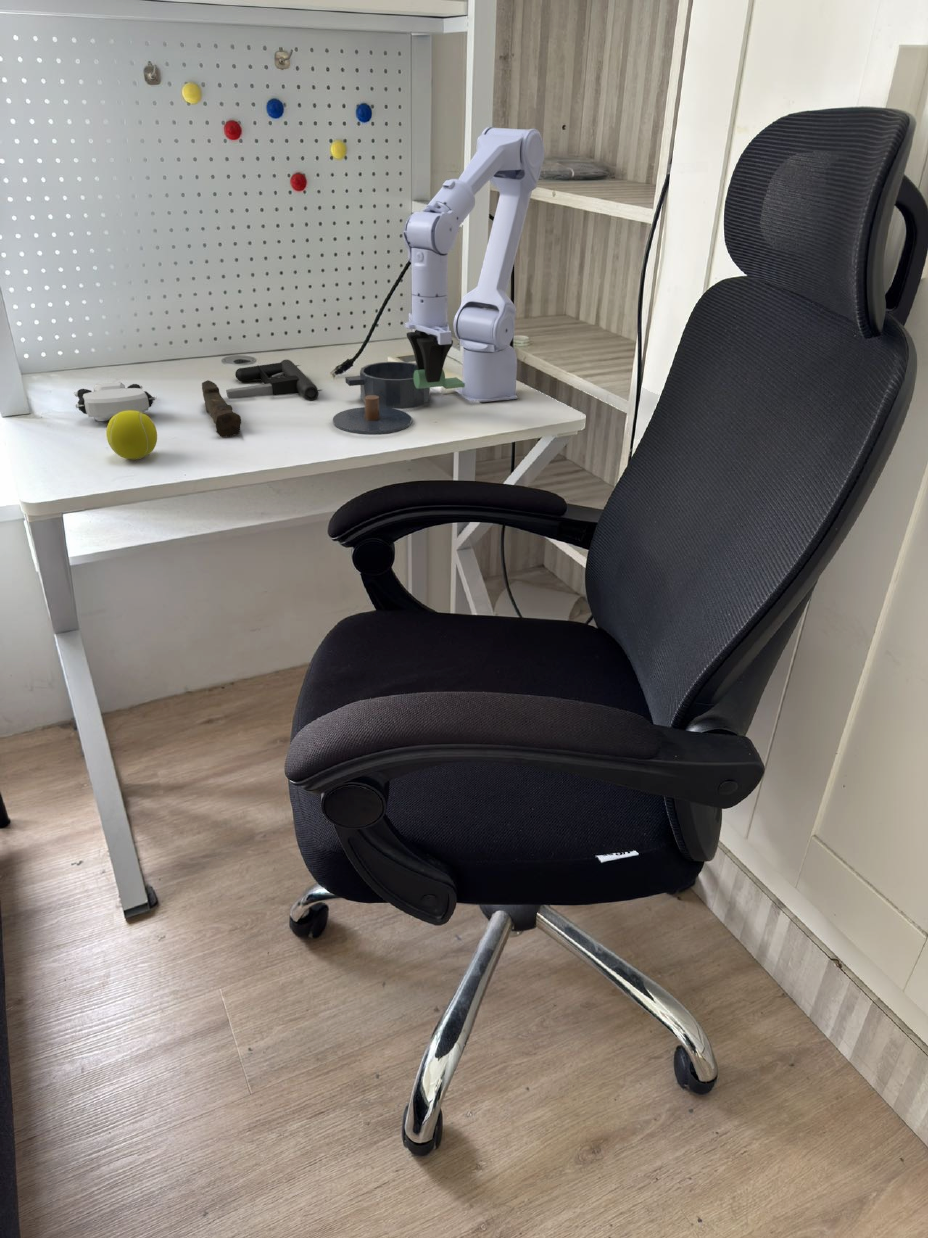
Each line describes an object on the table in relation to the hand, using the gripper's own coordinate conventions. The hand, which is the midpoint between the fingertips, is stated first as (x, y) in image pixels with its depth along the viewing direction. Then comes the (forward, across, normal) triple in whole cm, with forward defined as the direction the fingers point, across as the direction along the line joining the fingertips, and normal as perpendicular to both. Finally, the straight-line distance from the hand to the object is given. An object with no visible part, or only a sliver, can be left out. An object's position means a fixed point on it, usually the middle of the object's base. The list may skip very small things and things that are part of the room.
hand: (429, 378), depth 153 cm
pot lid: (+6, +1, -10) cm, 12 cm away
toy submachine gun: (+7, -24, -22) cm, 33 cm away
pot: (+7, -11, -2) cm, 13 cm away
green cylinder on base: (+1, 0, +2) cm, 2 cm away
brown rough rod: (+7, -10, -34) cm, 36 cm away
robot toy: (+7, -19, -49) cm, 53 cm away
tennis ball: (+7, +4, -48) cm, 49 cm away
